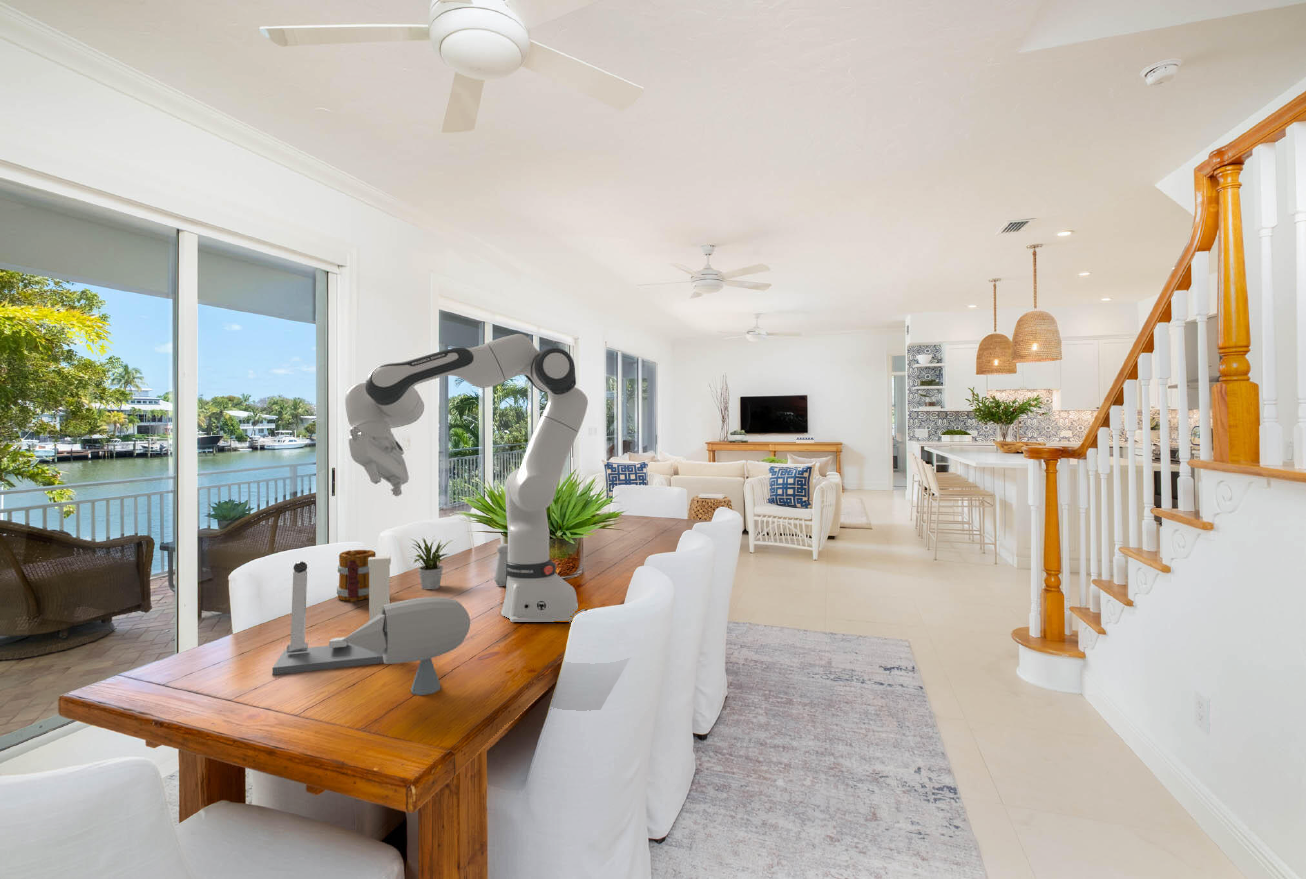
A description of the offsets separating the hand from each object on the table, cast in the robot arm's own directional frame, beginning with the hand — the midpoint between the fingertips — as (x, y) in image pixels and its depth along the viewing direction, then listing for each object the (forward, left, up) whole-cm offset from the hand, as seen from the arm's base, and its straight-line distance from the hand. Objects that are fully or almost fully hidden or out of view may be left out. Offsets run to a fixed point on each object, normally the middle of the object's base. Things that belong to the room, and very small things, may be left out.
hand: (387, 488), depth 143 cm
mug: (+27, -26, -35) cm, 52 cm away
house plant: (+14, -41, -35) cm, 56 cm away
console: (+1, +15, -35) cm, 38 cm away
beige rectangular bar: (-5, +9, -33) cm, 35 cm away
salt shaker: (-8, -49, -35) cm, 61 cm away
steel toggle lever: (+9, +17, -33) cm, 38 cm away
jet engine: (-23, +25, -35) cm, 49 cm away
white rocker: (+2, +13, -32) cm, 35 cm away
